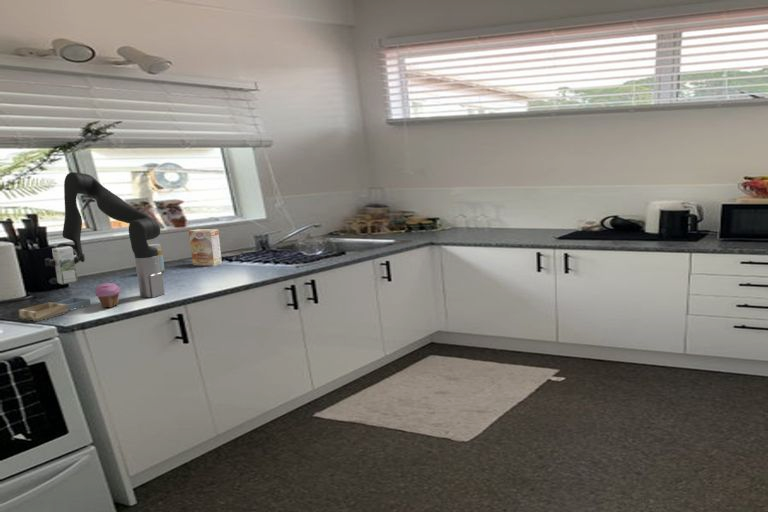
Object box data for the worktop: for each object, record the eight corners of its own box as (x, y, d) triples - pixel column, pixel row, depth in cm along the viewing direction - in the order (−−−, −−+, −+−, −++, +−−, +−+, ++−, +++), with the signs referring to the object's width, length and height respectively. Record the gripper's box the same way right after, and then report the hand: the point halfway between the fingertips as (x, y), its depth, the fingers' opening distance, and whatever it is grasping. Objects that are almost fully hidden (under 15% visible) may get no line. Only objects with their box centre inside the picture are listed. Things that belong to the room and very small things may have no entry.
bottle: (150, 274, 271) (146, 246, 268) (150, 272, 278) (146, 244, 275) (164, 273, 274) (161, 244, 271) (164, 270, 280) (161, 243, 277)
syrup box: (72, 280, 215) (66, 245, 212) (78, 281, 211) (72, 246, 209) (57, 283, 211) (51, 247, 208) (62, 284, 207) (56, 248, 204)
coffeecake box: (192, 265, 292) (188, 230, 288) (201, 262, 299) (197, 229, 295) (213, 266, 287) (210, 230, 283) (222, 263, 293) (218, 229, 289)
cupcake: (112, 310, 206) (108, 285, 204) (92, 309, 207) (88, 285, 205) (126, 303, 214) (123, 280, 212) (108, 303, 216) (104, 280, 214)
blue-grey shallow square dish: (90, 304, 215) (89, 299, 215) (66, 311, 206) (65, 305, 206) (76, 302, 220) (75, 297, 219) (51, 309, 211) (50, 303, 211)
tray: (67, 313, 204) (66, 304, 203) (36, 321, 194) (35, 312, 193) (50, 310, 209) (49, 301, 209) (19, 318, 199) (18, 309, 199)
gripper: (45, 250, 218) (41, 255, 204) (84, 246, 225) (83, 251, 210) (48, 268, 220) (44, 274, 205) (87, 263, 226) (86, 269, 212)
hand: (64, 262), depth 208 cm, fingers closed on syrup box, 7 cm apart
